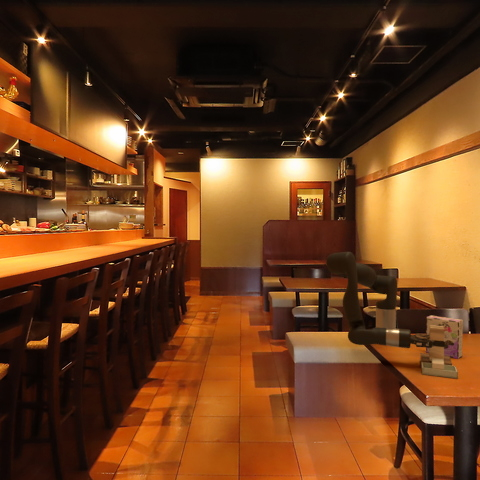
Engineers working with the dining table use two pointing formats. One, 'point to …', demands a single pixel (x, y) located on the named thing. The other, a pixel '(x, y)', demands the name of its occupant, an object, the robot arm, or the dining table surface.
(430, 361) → the flat square baseboard
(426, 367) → the tray
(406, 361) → the dining table surface
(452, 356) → the candy box
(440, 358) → the tile
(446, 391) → the dining table surface
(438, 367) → the tile
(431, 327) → the block
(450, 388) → the dining table surface
